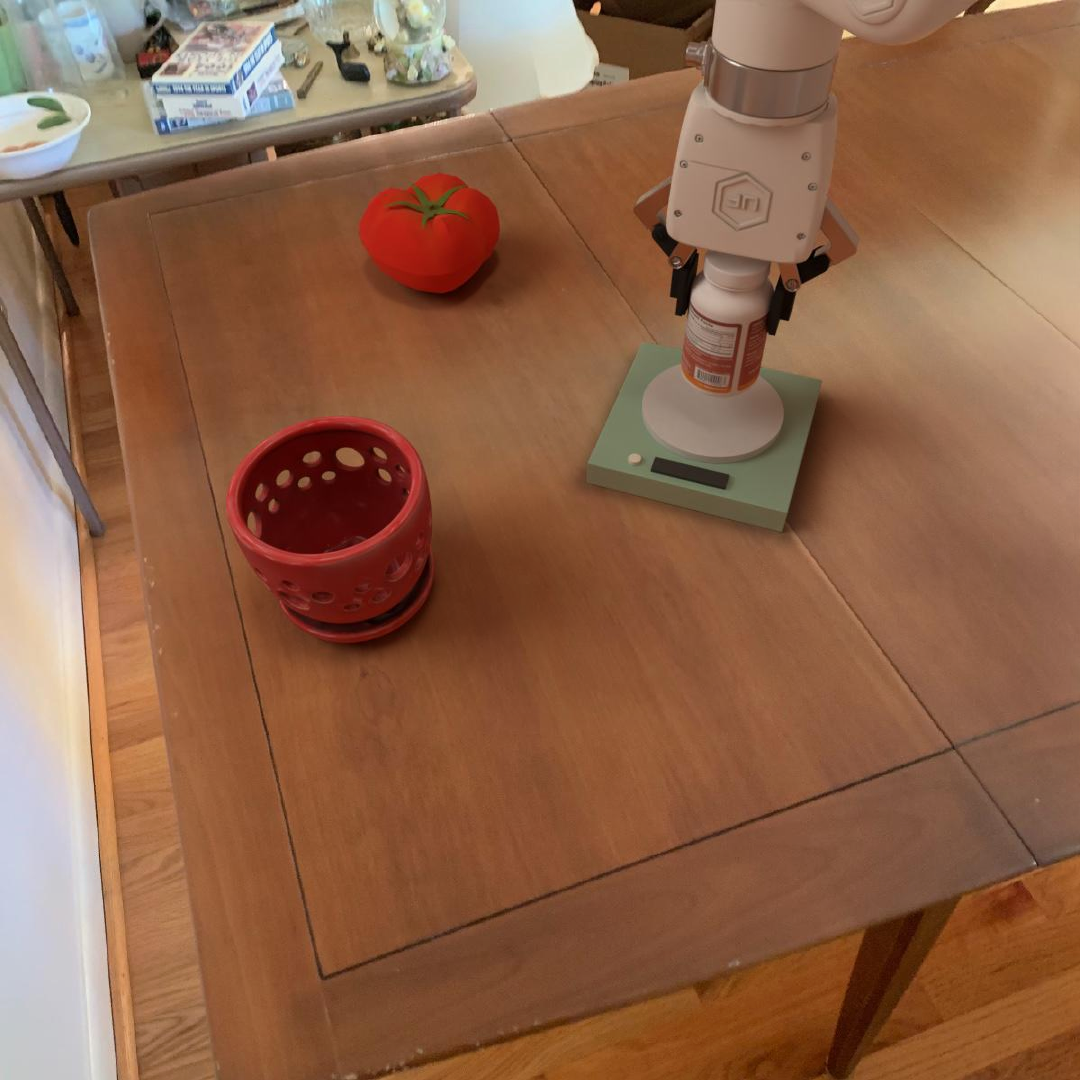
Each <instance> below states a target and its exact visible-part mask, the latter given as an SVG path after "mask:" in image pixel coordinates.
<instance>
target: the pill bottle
mask: <svg viewBox="0 0 1080 1080" xmlns="http://www.w3.org/2000/svg"><path fill="white" fill-rule="evenodd" d="M771 266H772V262H769V261H763V260H758V259H752V258H747V257H742V256H736V255H731V254H726V253H721V252H716V251H711V250H706V249H705V254H704V260H703V269H702V270H701V271H699V273H697V274H696V277H695V278H694V280H693V282H692V285H691V289H690V295H689V303H688V309H687V311H686V321H685V331H684V337H683V338H684V339H683V346H682V350H683V353H682V362H681V371H682V375H683V377H684V379H685V381H686V382H687V383H688V384H689V385H690V386H691V387H692V388H693V389H695V390H697V391H698V392H700V393H703V394H705V395H708V396H713V397H720V398H723V397H732V396H736V395H739V394H742V393H744V392H746V391H747V390H749V389H750V388H751V387H752V386H753V385H754V384H755V383H756V381H757V379H758V376H759V373H760V368H761V367H762V362H763V359H764V358H763V357H764V352H765V346H766V342H767V337H768V332H766V329H767V324H768V319H769V314H770V310H771V305H772V300H773V295H774V291H775V287H774V284H773V282H772V280H771V279H770V278H769V277H770V273H771Z"/></svg>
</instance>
